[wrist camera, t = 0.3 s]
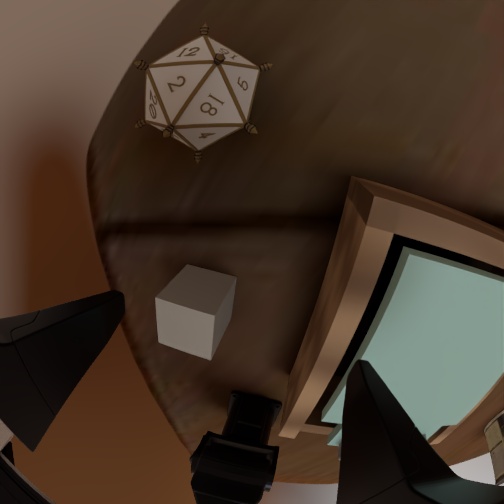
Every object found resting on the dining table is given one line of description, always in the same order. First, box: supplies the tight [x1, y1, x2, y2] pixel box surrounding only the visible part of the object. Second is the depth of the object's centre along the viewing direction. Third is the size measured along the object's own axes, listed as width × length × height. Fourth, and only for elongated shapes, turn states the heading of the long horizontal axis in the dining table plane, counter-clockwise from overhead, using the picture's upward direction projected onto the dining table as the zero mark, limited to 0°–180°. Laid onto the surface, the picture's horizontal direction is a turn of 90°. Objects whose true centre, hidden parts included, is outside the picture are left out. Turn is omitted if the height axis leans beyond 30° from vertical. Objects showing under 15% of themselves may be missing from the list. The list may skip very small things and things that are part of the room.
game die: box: [134, 23, 273, 163], centre depth 15 cm, size 9×8×10 cm
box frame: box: [279, 176, 504, 444], centre depth 18 cm, size 22×18×8 cm
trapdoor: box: [321, 246, 504, 460], centre depth 14 cm, size 18×14×3 cm
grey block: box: [155, 264, 237, 360], centre depth 23 cm, size 5×5×6 cm
